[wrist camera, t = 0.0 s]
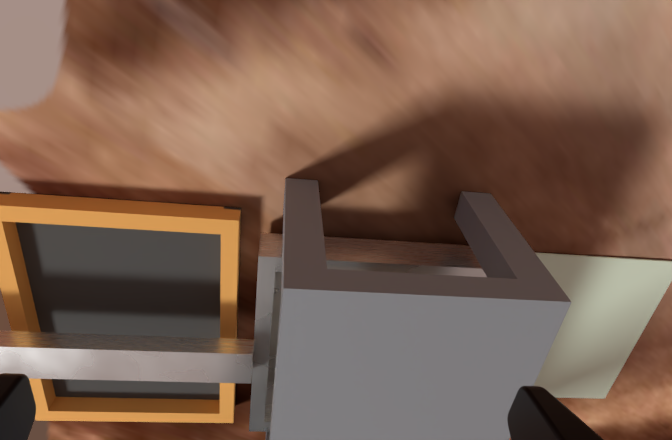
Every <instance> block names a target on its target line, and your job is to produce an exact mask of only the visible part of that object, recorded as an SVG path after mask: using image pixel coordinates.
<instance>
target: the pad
mask: <svg viewBox="0 0 672 440" xmlns="http://www.w3.org/2000/svg"><path fill="white" fill-rule="evenodd" d="M535 254H536V255H537V256H538V258H539V259H540V260H541V262H542V263H543V264H544V266H545V267H546V268H547V270H548V271H549V272H550V274H551V275H552V276H553V278H554V279H555V280H556V282H557V283H558V284H559V286H560V287H561V288H562V290H563V291H564V292H565V294H566V295H567V296H568V298H569V299H570V301H571V305H570V307H569V309H568V311H567V313H566V316H565V318H564V320H563V322H562V324H561V327H560V329H559V331H558V333H557V335H556V338H555V340H554V342H553V344H552V346H551V348H550V351H549V353H548V355H547V357H546V359H545V362H544V364H543V366H542V368H541V370H540V373H539V375H538V377H537V379H536V381H535V384H534V386H540V387H543V388H545V389H546V390H547V391H548V392H549V393H551V394H552V395H553V396H554V397H555V398H600V399H605V397H606V395H607V394H608V392H609V390H610V388H611V387H612V385H613V383H614V381H615V380H616V378H617V376H618V374H619V373H620V371H621V369H622V367H623V366H624V364H625V362H626V360H627V359H628V357H629V355H630V353H631V352H632V350H633V348H634V346H635V344H636V343H637V341H638V339H639V337H640V336H641V334H642V332H643V330H644V329H645V327H646V325H647V323H648V322H649V320H650V318H651V316H652V315H653V313H654V311H655V309H656V308H657V306H658V304H659V302H660V301H661V299H662V297H663V295H664V294H665V292H666V290H667V288H668V286H669V285H670V283H671V281H672V261H668V260H652V259H635V258H619V257H602V256H586V255H569V254H553V253H536V252H535Z"/></svg>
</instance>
